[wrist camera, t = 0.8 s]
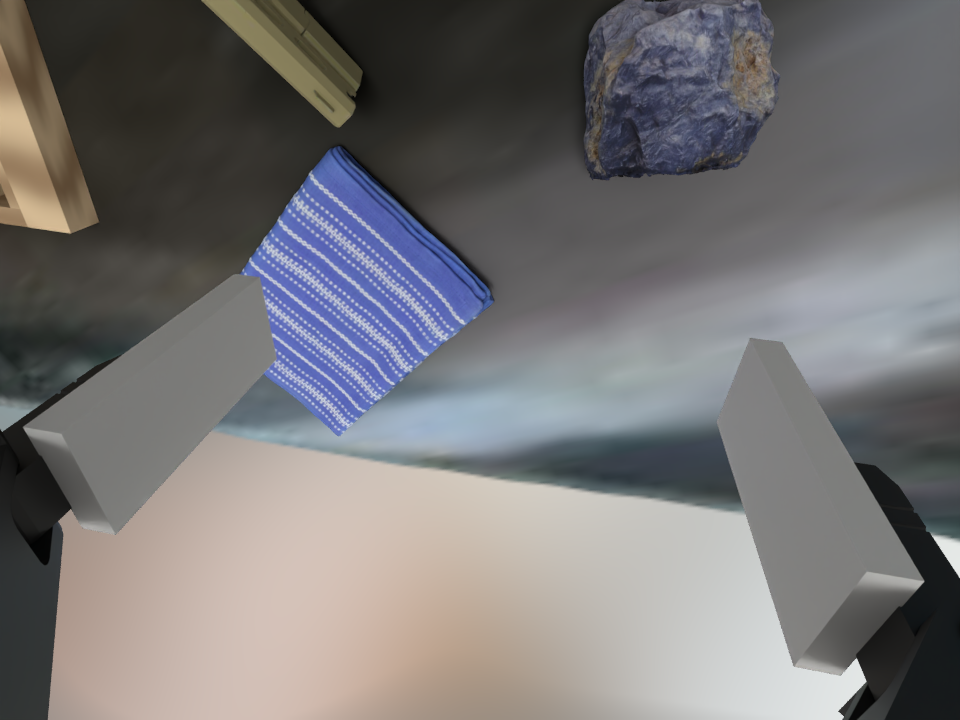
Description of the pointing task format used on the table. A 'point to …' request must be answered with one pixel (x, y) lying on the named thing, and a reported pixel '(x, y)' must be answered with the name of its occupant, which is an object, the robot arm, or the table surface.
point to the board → (35, 137)
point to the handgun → (296, 51)
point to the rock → (676, 86)
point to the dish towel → (356, 292)
